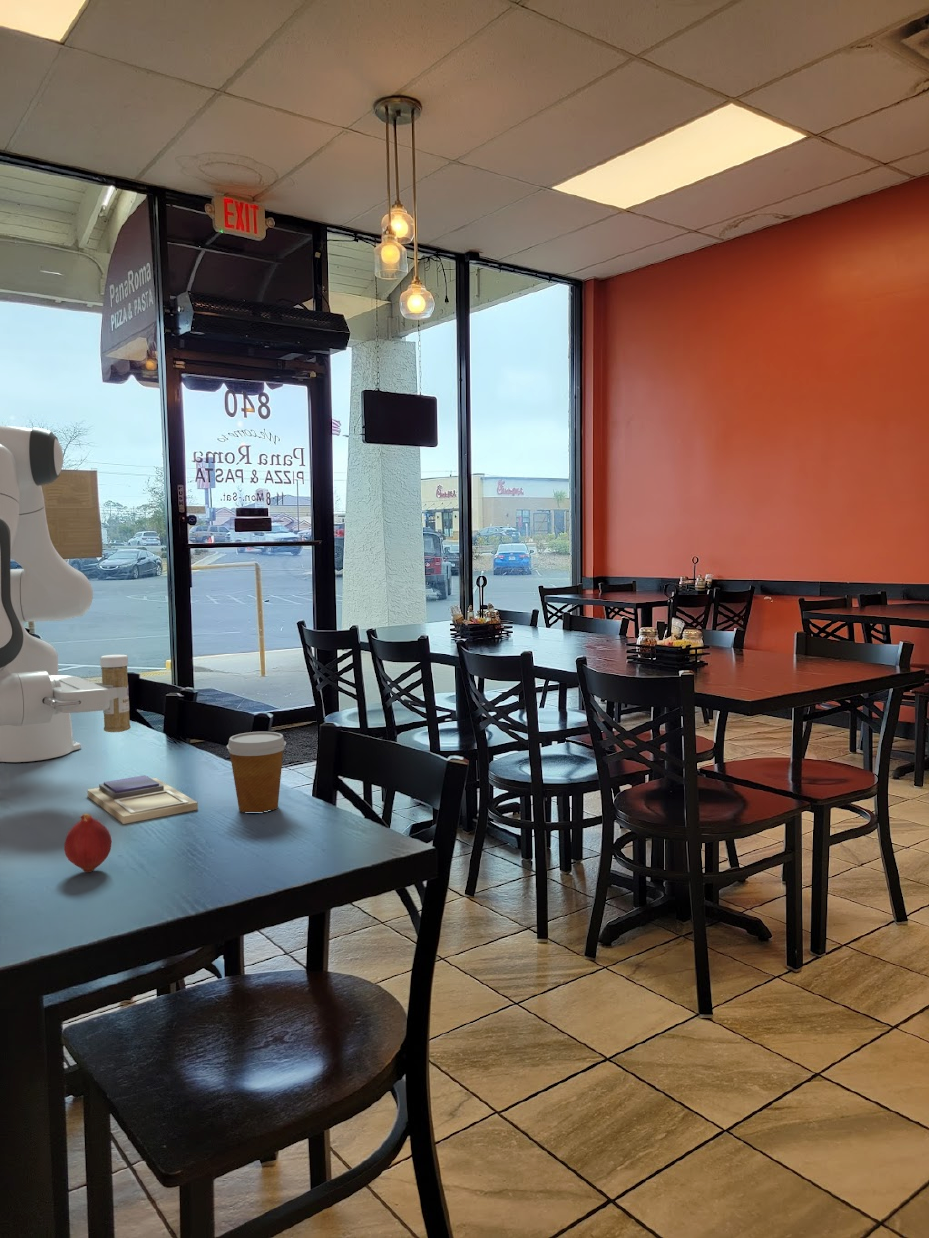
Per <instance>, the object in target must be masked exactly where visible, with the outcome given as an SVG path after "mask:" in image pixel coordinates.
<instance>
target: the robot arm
mask: <svg viewBox="0 0 929 1238" xmlns="http://www.w3.org/2000/svg"><path fill="white" fill-rule="evenodd" d="M63 465H64V451H63V449H62V445H61V444H60V441H59V439H58V437H57V436H56V435H55V434H54V433H53V432H52V431H51V430H48V429H45V428H42V427H41V428H40V427H36V426H35V427H34V426H33V427H32V428H29V427H23V426H14V425H13V426H12V425H0V762H4V763H5V762H6V763H21V762H23V763H25V762H35V761H43V760H50V759H54V758H58V757H62V756H66V755H68V754H69V753H71V752H73V751H77V750H80V749H82V744H81V742H77V741H74V736H73V735H74V734H73V727H72V726H73V725H72V716H71V714H76V713H88V712H90V713H91V712H102V711H103V710H106V709H108V708H109V706H110V702H109V700H112V699H115V698H121V697H126V696H127V688H126V687H124V686H117V687H113V688H104V687H102V682H96V681H95V682H92V681H89V680H86V679H85V678H81V677H79V676H76V675H59V674H60V673H59V658H58V652H57V649H55V647H54V646H53V645H52V644H50V643H49V642H47V641H45V640H43V639H41V638H38V637H36V636H33V635H31V634H30V633H29V632H28V631H27V630H26V628H25V627H26V626H25V624H24V623H27V622H58V621H59V622H60V621H65V620H66V621H67V620H70V619H74V618H79V617H82V616H84V615H85V614H86V613H87V612H88V611H89V609H90V607H91V605H92V603H93V599H94V592H93V586H92V584H91V582H90V580H89V578H88V577H87V576H86V575H85V573H83V572H82V571H80V570H78V569H77V568H75V567H73V566H72V565H71V564H69V563H68V562H67V561H65V560H64V558H63V557H62V556H61V555H60V554H59V552H58V551H57V549H56V548H55V546H54V544H53V542H52V539H51V535H50V530H49V526H48V521H47V513H46V505H45V497H44V492H43V487H42V486H44V485H49V484H52V483H53V482H55V481H56V480H57V479H58V478H59V477H60V475H61V471H62V469H63ZM11 560H12V561H14V562H16V563H17V564H18V565H19V566H21V568H12V569H11Z"/></svg>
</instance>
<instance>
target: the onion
mask: <svg viewBox="0 0 929 1238" xmlns="http://www.w3.org/2000/svg"><path fill="white" fill-rule="evenodd" d="M112 840H113V839H112V835H111V833H110V831H109V830H108V828H107V827H106V826H105V825H104V824H102V822H100V820H97V819H95V818H94V817H92V816H91V815H90V814H89V813H83V814H82V815H81V816H80V821H78V822H77V823H76V824H74V825H73V826H72V827H71V829H70V830H69V831H68V833H67V835H66V837H65V841H64V844H63V845H64V847H63V850H64V854H65V857H66V858H67V860H68V861H69V862H70V863H72V864H73V865H74V866H76V867H78V868H79V869H81V870H82V871H84V872H86V873H91V872H92V871H94V870H96V869H97V868H98V867H99V866H100V865H101V864H103V863H104V862H105V860H106V859H107V857H108V856H109V854H110V853H111V848H112Z"/></svg>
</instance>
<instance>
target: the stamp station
mask: <svg viewBox="0 0 929 1238" xmlns="http://www.w3.org/2000/svg"><path fill="white" fill-rule="evenodd" d="M98 785H99V786H98V787H94V788H89V789H87V790H86V792H87V793H86V794H87V797H88V798H89V799H90V800H91V801H93V802H94V803H95V804H97V805H98V806H99V807H101V808H102V809H103V810H105V811H106V812H107V813H109V814H110V815H111V816H112V817H114V818H115V819H116V820H118V821H119V822H120V823H122V825H125V824H131V823H136V822H141V821H145V820H150V819H156V818H157V819H158V818H160V817H161V818H162V817H167V816H171V815H176V814H181V813H187V812H192V811H197V810H198V809H199V805H198V804H199V803H198V801H196V800H195V799H193V798H191V797H189V796H187V795H186V794H184V793H183V792H181V791H179V790H177V789H176V788H175V787H173V786H171V785H168V784H167V783H166V782H163V781H162V780H161V779H158V778H156V777H154V778H151V777H150V776H147V775H146V774H145V775H139V776H133V777H126V778H121V779H116V780H115V779H114V780H110V781H103V783H99V784H98Z"/></svg>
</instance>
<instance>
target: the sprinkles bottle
mask: <svg viewBox="0 0 929 1238" xmlns="http://www.w3.org/2000/svg"><path fill="white" fill-rule="evenodd" d="M99 660H100V661H99V662H100V664H99V665H100V667H101V683H102V687H104V688H113V687H117V686H124V687H126V688H127V696H126V697H121V698H115V699H112V700H109V702H110V706H109V708H108V709H106V710H102V711H103V722H104V724H103V731H104V732H106V733H122V732H126V731H129V730H130V729H131V724H130V699H129V698H130V697H129V682H128V678H129V677H128V665H129V657H128V655H127V654H118V653H117V654H114V653H113V654H105V655H102V656H100V658H99Z"/></svg>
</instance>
